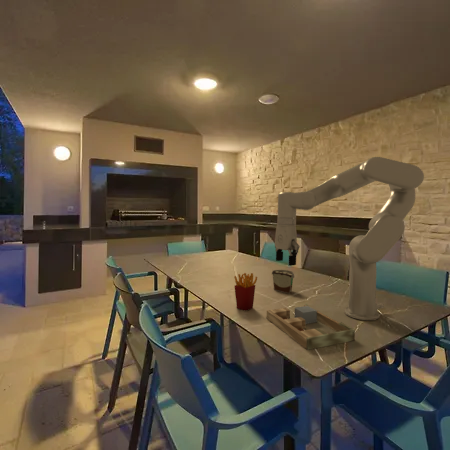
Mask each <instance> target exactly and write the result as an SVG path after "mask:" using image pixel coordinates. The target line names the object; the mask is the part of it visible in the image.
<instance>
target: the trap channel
mask: <svg viewBox="0 0 450 450" xmlns="http://www.w3.org/2000/svg"><path fill="white" fill-rule="evenodd" d="M303 306H308V305H307V304H304V305H303ZM316 311H317V322H319V323H321V324H323V325H325V326H326V327H328V328H330V329H332V330H333V331H334V332H330V333H327V332H325V331H324V330H322V329H320V327H317V328H311V329H306V324H305V321H306V320H305V319H303V318H301V317H297V318H294V317H292V318H291V309H288V308H287V307H283V308H282V307H281V308H274V309H267V310H266V319H267V320H268V321H270V322H271V323H272V324H274V325H275V326H276V327H277V328H279V329H280V330H281V331H283V332H284V333H285V334H286V335H287V336H289V337H290V338H291V339H292V340H294V341H295V342H297V344H299V345H301V346H302V347H303V348H304V349H306V351H308V350H309V351H310V350H314V349H319V348H325V347H328V346H329V347H330V346H333V345H338V344H342V343H347V342H353V341H355V337H356V330H355V329H354V328H353V327H352V326H350V325H348V324H346V323H344V322H342V321H341V322H339V321H336V320H335V319H333V318H331V317H329V316H327V315H326V314H324V313H322V312H320V311H319V310H316ZM305 329H306V330H305Z"/></svg>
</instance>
